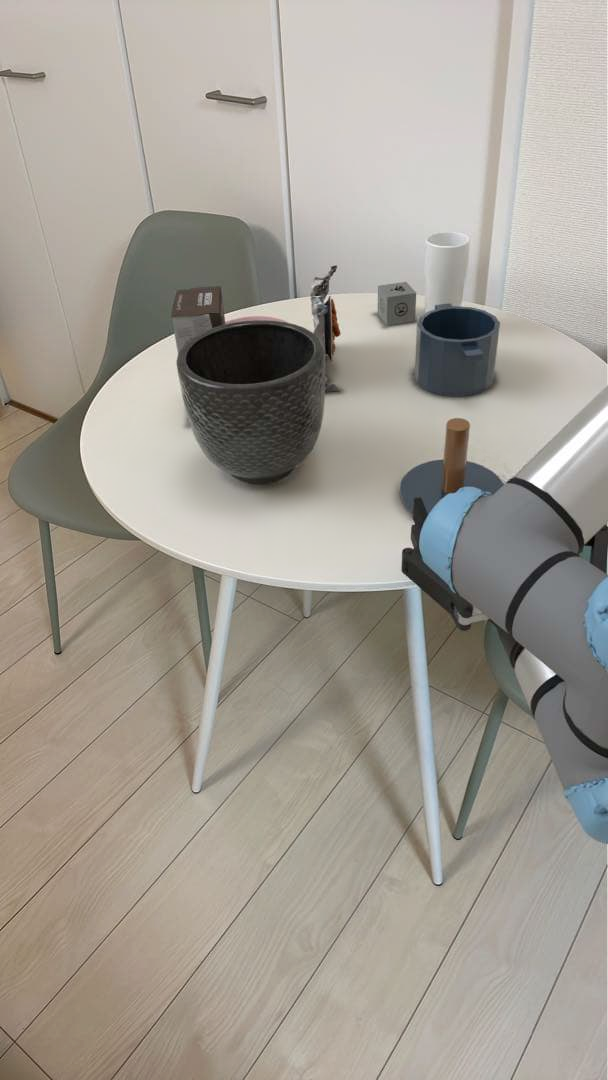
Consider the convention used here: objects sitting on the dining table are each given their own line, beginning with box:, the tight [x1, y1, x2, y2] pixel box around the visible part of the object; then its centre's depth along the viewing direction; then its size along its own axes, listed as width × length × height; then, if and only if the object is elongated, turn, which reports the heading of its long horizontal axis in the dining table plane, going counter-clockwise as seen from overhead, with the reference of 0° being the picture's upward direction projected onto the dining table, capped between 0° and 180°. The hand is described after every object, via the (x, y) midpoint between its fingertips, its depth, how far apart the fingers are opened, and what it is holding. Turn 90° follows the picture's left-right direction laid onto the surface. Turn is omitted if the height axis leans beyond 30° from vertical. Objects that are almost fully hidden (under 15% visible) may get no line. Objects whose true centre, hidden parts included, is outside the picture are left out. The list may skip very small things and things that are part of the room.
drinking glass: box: [423, 231, 471, 314], centre depth 118 cm, size 7×7×15 cm
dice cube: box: [377, 281, 417, 327], centre depth 127 cm, size 5×5×5 cm
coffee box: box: [170, 285, 226, 355], centre depth 104 cm, size 9×6×16 cm
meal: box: [310, 265, 342, 393], centre depth 112 cm, size 15×4×13 cm, turn 0°
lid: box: [399, 417, 504, 515], centre depth 87 cm, size 12×12×10 cm
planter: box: [176, 320, 326, 485], centre depth 92 cm, size 17×17×16 cm
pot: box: [414, 303, 501, 397], centre depth 109 cm, size 11×17×8 cm
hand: (480, 500), depth 79 cm, fingers open, 13 cm apart
